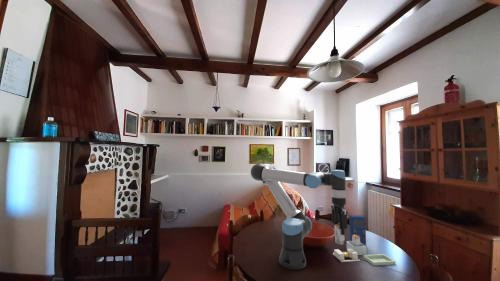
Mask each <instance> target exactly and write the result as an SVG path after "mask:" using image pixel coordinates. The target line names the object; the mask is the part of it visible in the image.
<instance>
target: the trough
mask: <svg viewBox="0 0 500 281" xmlns="http://www.w3.org/2000/svg"><path fill="white" fill-rule="evenodd" d="M362 257H363V259H364V260H365V261H367V262H368V263H369V264H371V265H372V266H391V265H396V262H397V261H395V259H392V258H391V257H389V256H387V255H386V254H384V253H382V254H381V253H380V254H367V255H362Z"/></svg>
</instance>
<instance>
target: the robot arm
mask: <svg viewBox="0 0 500 281" xmlns="http://www.w3.org/2000/svg"><path fill="white" fill-rule="evenodd" d="M330 171H331V172H320V171H319V172H317V171H315V172H314V171H312V172H310V173H309V172H301V171H293V170H285V169H277V168H276V167H275V165H274V164H272V163H269V162H264V163H255V164H254V165H253V166H252V167H251V169H250V176H251V178H252V179H254V180H255V181H260V182H262V184H263V185H264V186H267V187H268V189H269V191H270V193H271V194H272V195H273V197H274V199H275V201H276V202H277V204H278V205H279V207H280V208H281V211H282V212H283V213H284V214H285V216H286V219H284V220H283V221H282V226H281V233H282V234H281V236H282V237H281V238H282V239H281V241H282V242H281V244H282V246H281V251H280V254H279V257H278V262H279V264H280V266H282V267H284V268H285V269H288V270H295V271H296V270H299V271H300V270H302V269H304V268H305V267H306V266H307V259H306V255H305V253H304V247H303V246H304V242H303V241H304V238H306V236H308V235H309V234H310V233H311V231H312V227H313V223H312V221H311V219H310V217H308V215H305V214H304V213H303V212H302V210H299V209H298V208H297V206H296V204H294V202H293V200H292V198H290V195H288V193H287V192H286V190H285V188H284V187H283V185H282V183H284V184H290V185H298V186H303V187H308V188H310V189H318V188H319V187H323V186H329V187H330V186H331V204H332V205H330V207H331V222H332V223H333V226H334V227H333V228H334V229H333V231H334V234H335V224H338V223H339V224H340V228H339V240H340V241H344V242H345V232H346V231H345V230H346V229H348V210H345V205H346V203H347V200H346V199H347V198H346V197H347V196H346V195H347V194H346V189H347V187H346V185H347V184H346V180H347V179H346V171H345V170H342V169H331V170H330Z"/></svg>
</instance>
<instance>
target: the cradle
mask: <svg viewBox="0 0 500 281" xmlns="http://www.w3.org/2000/svg"><path fill="white" fill-rule="evenodd" d="M342 252H343V251H341V250H340V249H339V248H337V249H333V253H332V255H333V256H334V257H335V258H336V259H337V260H339V261H340V262H341V263H347V262H348V263H350V262H360V261H361V260H360V259H359V255H358V253H357V252H355V251H354V250H353V249H347V248H346V252H348V253H349V257H348V258H351V259H345V257H344V253H342Z"/></svg>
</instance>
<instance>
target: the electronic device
mask: <svg viewBox="0 0 500 281" xmlns="http://www.w3.org/2000/svg"><path fill="white" fill-rule="evenodd" d="M348 216H349V219H348V220H349V241H352V235H353V234H356V235H359V236H360V242H361V243H362V244H364V245H365V246H367V231H366V230H367V229H366V227H367V226H366V216H365V215H362V214H361V215H357V214H355V215H353V214H350V215H348Z"/></svg>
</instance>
